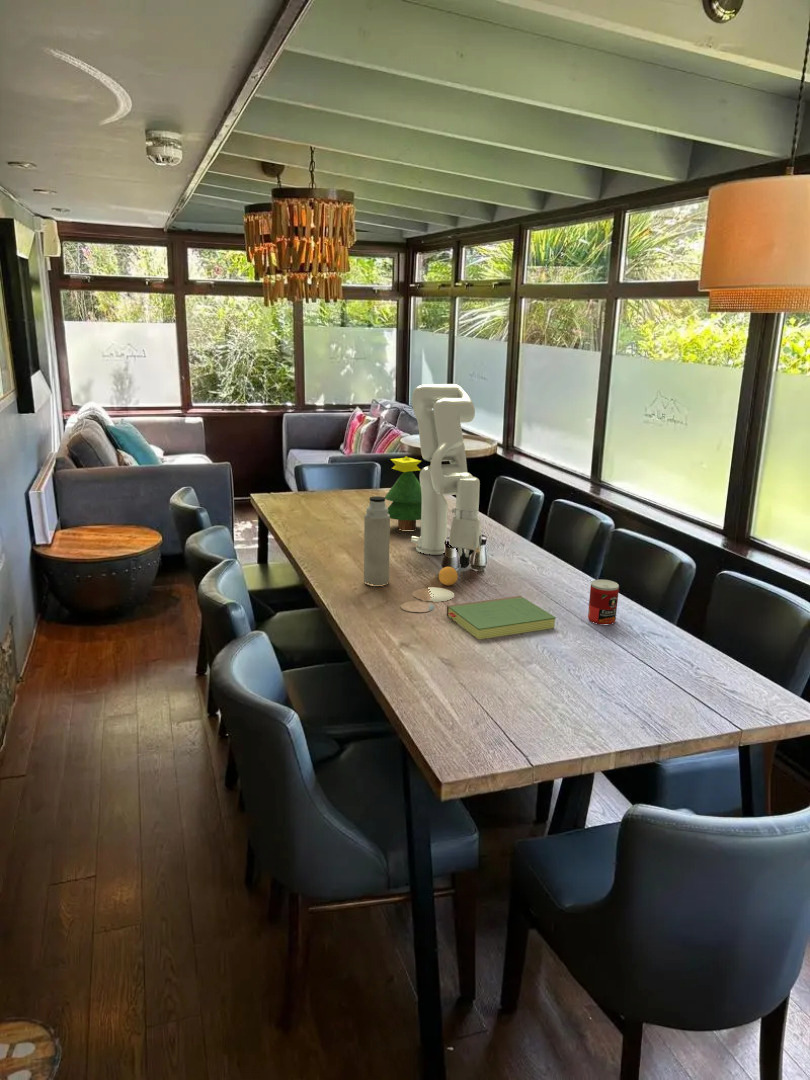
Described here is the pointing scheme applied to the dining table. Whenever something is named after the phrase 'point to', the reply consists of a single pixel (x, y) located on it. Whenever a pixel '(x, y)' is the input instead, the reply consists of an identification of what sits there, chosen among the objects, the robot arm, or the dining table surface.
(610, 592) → the canned food
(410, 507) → the decorative tree
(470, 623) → the hardcover book
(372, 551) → the thermos bottle
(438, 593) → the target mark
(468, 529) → the robot arm
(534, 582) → the dining table surface
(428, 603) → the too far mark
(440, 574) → the ball
